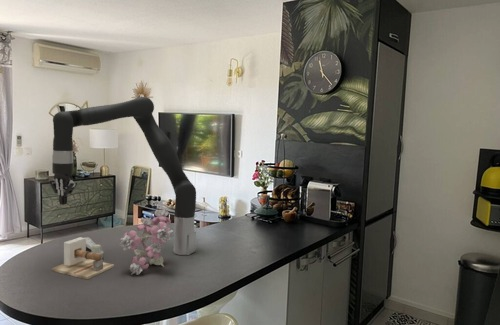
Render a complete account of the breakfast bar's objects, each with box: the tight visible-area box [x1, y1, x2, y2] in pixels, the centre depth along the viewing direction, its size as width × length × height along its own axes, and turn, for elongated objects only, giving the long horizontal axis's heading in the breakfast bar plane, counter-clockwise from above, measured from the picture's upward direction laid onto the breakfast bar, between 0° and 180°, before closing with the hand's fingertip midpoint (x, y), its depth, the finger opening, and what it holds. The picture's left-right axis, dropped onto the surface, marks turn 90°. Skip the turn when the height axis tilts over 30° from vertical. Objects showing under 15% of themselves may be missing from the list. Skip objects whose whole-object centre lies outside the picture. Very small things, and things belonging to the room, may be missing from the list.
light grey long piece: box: [83, 236, 104, 260], centre depth 164 cm, size 5×7×25 cm
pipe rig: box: [51, 249, 115, 280], centre depth 145 cm, size 18×14×7 cm
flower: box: [118, 208, 174, 275], centre depth 148 cm, size 20×22×25 cm
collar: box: [63, 236, 87, 266], centre depth 146 cm, size 3×8×9 cm, turn 159°
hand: (63, 204), depth 147 cm, fingers closed
